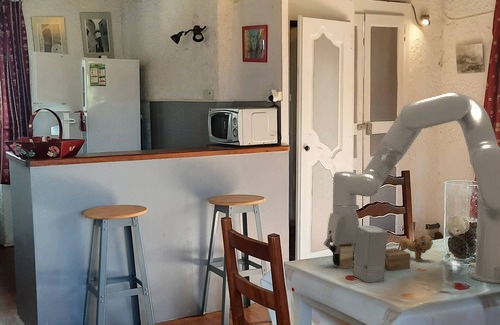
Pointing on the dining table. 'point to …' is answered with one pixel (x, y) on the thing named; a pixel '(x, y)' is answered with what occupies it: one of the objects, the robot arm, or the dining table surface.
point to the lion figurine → (416, 246)
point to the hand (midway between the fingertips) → (343, 263)
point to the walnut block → (397, 259)
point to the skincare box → (370, 253)
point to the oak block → (345, 256)
